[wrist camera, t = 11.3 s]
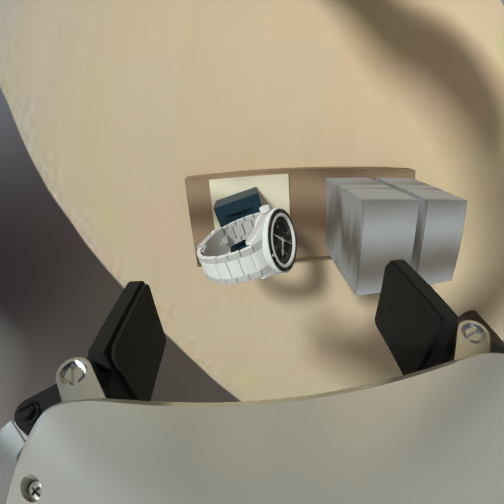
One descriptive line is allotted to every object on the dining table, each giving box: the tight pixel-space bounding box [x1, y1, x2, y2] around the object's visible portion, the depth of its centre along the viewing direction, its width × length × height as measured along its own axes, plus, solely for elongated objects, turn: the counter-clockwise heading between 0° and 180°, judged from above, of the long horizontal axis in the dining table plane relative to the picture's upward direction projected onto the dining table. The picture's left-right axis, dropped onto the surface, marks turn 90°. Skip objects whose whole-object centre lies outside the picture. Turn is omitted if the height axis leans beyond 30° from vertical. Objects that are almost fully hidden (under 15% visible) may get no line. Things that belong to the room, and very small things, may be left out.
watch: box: [197, 187, 297, 284], centre depth 24 cm, size 6×8×11 cm
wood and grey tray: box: [185, 167, 467, 296], centre depth 25 cm, size 10×26×12 cm, turn 94°
